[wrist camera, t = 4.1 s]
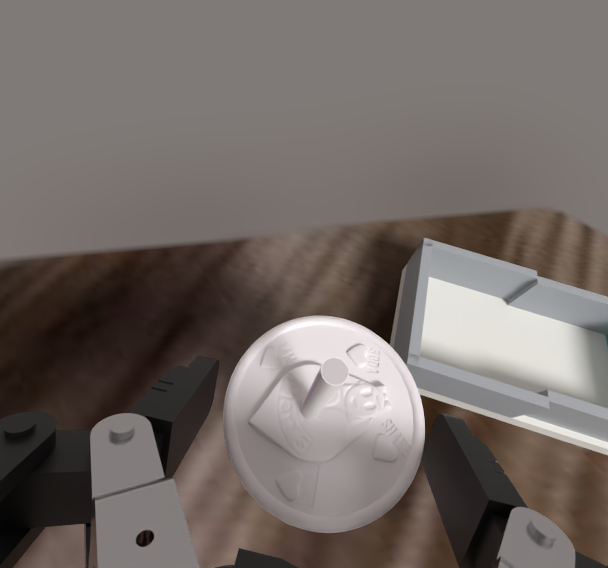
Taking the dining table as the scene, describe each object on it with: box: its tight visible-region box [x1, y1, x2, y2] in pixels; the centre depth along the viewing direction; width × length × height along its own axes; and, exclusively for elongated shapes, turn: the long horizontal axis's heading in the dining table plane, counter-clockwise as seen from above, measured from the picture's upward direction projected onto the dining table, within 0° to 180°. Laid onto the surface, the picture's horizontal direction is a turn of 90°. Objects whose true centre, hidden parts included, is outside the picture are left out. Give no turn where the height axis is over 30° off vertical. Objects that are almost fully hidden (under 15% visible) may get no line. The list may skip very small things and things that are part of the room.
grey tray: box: [390, 238, 608, 455], centre depth 21 cm, size 15×9×4 cm, turn 73°
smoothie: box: [223, 316, 425, 533], centre depth 12 cm, size 6×6×14 cm
